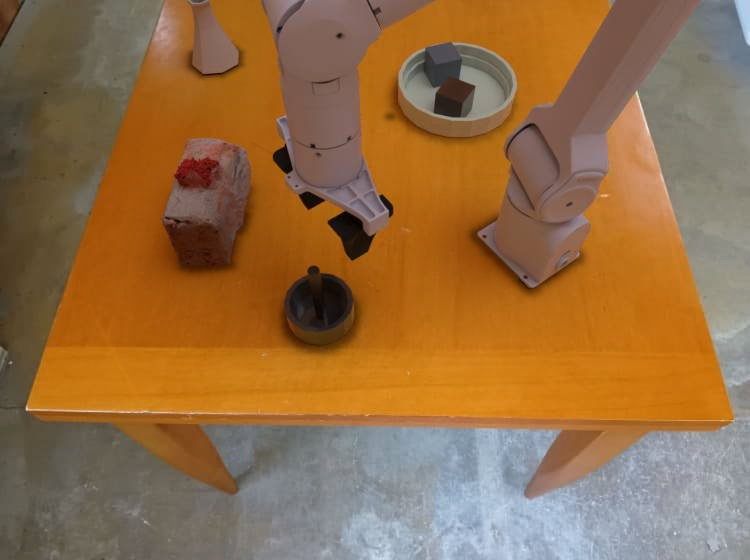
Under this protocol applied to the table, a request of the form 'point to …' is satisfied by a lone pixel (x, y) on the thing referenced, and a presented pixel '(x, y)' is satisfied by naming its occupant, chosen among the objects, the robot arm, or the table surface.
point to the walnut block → (454, 98)
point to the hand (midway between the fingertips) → (336, 228)
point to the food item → (207, 201)
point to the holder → (303, 310)
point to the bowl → (476, 69)
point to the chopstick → (317, 292)
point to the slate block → (442, 63)
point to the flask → (210, 41)
